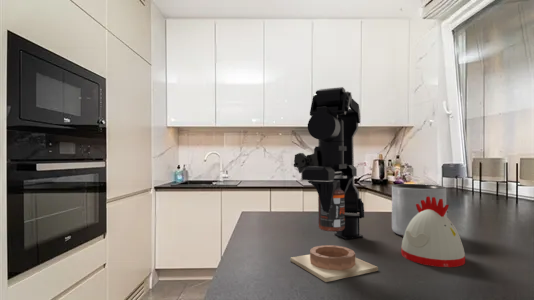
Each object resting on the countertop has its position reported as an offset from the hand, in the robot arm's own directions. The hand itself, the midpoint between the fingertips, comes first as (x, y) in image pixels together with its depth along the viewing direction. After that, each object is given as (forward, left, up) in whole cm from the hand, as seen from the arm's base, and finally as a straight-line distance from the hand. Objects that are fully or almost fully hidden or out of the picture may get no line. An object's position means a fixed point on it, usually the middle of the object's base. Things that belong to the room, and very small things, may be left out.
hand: (331, 209), depth 71 cm
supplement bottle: (0, 0, -5) cm, 5 cm away
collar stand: (0, 0, -13) cm, 13 cm away
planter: (-43, -11, -13) cm, 46 cm away
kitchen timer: (-26, +6, -13) cm, 30 cm away
